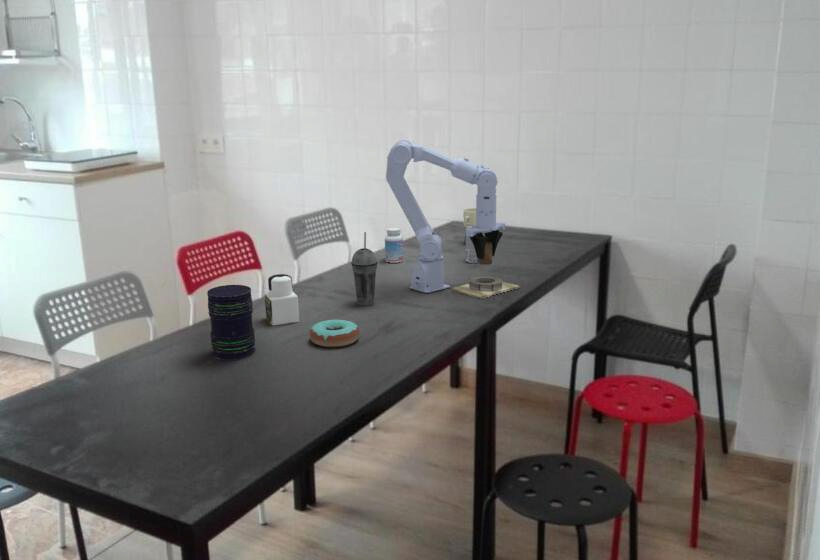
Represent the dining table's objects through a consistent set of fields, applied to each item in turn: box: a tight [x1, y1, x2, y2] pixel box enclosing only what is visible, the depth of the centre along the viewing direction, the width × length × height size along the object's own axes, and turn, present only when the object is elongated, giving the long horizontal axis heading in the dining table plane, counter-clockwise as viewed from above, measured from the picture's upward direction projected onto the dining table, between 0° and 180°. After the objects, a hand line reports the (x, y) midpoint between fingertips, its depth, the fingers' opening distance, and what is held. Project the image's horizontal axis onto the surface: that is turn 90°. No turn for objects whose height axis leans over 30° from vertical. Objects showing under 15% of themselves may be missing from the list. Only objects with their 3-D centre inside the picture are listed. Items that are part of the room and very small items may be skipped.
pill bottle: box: [384, 227, 404, 264], centre depth 257 cm, size 6×6×11 cm
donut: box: [309, 319, 360, 348], centre depth 182 cm, size 12×12×4 cm
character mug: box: [462, 207, 476, 245], centre depth 280 cm, size 11×7×13 cm, turn 144°
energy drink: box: [465, 225, 479, 264], centre depth 255 cm, size 5×5×12 cm
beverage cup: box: [350, 231, 378, 307], centre depth 209 cm, size 7×7×20 cm
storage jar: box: [206, 284, 256, 361], centre depth 173 cm, size 10×10×15 cm
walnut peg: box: [477, 242, 493, 266], centre depth 222 cm, size 4×4×6 cm
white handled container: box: [264, 273, 300, 327], centre depth 196 cm, size 7×7×12 cm
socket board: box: [451, 275, 520, 300], centre depth 223 cm, size 16×12×3 cm
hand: (485, 257), depth 222 cm, fingers closed on walnut peg, 4 cm apart
